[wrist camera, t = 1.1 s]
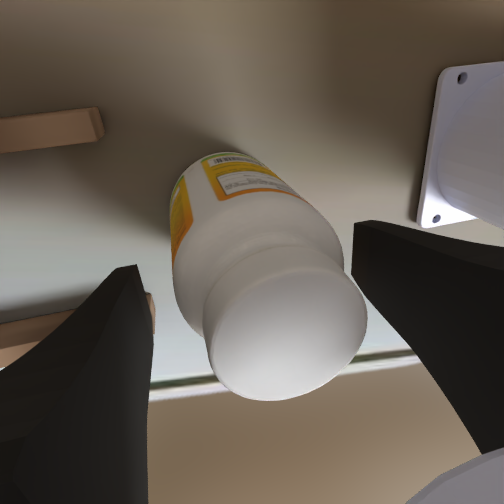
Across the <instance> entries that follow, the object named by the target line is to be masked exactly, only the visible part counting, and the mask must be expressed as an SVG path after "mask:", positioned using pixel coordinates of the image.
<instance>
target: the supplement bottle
mask: <svg viewBox="0 0 504 504" xmlns="http://www.w3.org/2000/svg"><path fill="white" fill-rule="evenodd" d="M170 229H171V252H172V274H173V285H174V292H175V297H176V301H177V304H178V307H179V309H180V311H181V313H182V315H183V317H184V319H185V320H186V321H187V323H188V324H189V325H190V326H191V328H192V329H193V330H194V331H196V332H197V333H198V334H199V335H200V336H202V337H203V338H204V339H205V342H206V347H207V352H208V358H209V362H210V365H211V368H212V370H213V372H214V374H215V375H216V377H217V378H218V379H219V381H220V382H221V383H222V384H223V385H224V386H225V387H226V388H228V389H229V390H231V391H232V392H234V393H236V394H238V395H240V396H242V397H245V398H249V399H254V400H263V401H275V400H284V399H289V398H292V397H296V396H300V395H302V394H305V393H308V392H310V391H312V390H315V389H317V388H319V387H320V386H322V385H324V384H325V383H327V382H328V381H330V380H331V379H333V378H334V377H335V376H336V375H338V374H339V373H340V372H341V371H342V370H343V369H344V368H345V367H346V366H347V365H348V364H349V363H350V361H351V360H352V359H353V357H354V356H355V354H356V353H357V351H358V350H359V348H360V346H361V344H362V342H363V339H364V336H365V333H366V328H367V319H368V317H367V308H366V304H365V301H364V299H363V296H362V294H361V293H360V291H359V290H358V288H357V287H356V286H355V284H354V283H353V282H352V281H351V280H350V278H349V277H348V276H347V275H346V274H345V273H344V257H343V252H342V247H341V244H340V241H339V239H338V237H337V235H336V233H335V231H334V229H333V228H332V226H331V225H330V223H329V222H328V221H327V220H326V219H325V218H324V217H323V216H322V215H321V214H320V213H319V212H318V211H317V210H316V209H315V208H314V207H313V206H312V205H310V204H309V203H308V202H307V201H306V200H304V199H303V198H302V197H301V196H300V195H299V194H297V193H296V192H295V191H294V190H293V189H292V188H291V187H289V186H288V185H287V184H286V183H285V182H284V181H282V180H281V179H280V178H279V177H278V176H277V175H276V174H274V173H273V172H272V171H271V170H270V169H269V168H267V167H266V166H265V165H264V164H262V163H261V162H259V161H257V160H256V159H254V158H252V157H250V156H247V155H244V154H241V153H235V152H221V153H215V154H211V155H208V156H205V157H203V158H201V159H199V160H198V161H196V162H195V163H193V164H192V165H190V166H189V167H188V168H187V169H186V170H185V171H184V172H183V174H182V175H181V176H180V178H179V179H178V181H177V183H176V185H175V187H174V189H173V192H172V195H171V200H170Z"/></svg>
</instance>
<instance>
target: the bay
mask: <svg viewBox="0 0 504 504" xmlns="http://www.w3.org/2000/svg"><path fill="white" fill-rule="evenodd" d="M104 134H105V130H104V127H103V123H102V120H101V116H100V113H99V109H98V107H89V108H81V109H72V110H63V111H54V112H45V113H36V114H28V115H19V116H10V117H1V118H0V154H1V153H9V152H16V151H24V150H32V149H40V148H47V147H55V146H63V145H71V144H79V143H86V142H94V141H98V140H99V139H100V138H101V137H102V136H103V135H104ZM146 298H147V301H148V304H149V308H150V311H151V315H152V321H153V334H155V306H154V302H153V299H152V295H151V294H148V295H146ZM75 310H76V309H74V310H69V311H64V312H59V313H54V314H49V315H44V316H39V317H34V318H29V319H24V320H19V321H14V322H9V323H4V324H0V368H2V367H6V366H8V365H10V364H11V363H13V362H14V361H15V360H17V359H18V358H20V357H21V356H23V355H24V354H25V353H27V352H28V351H29V350H30V349H32V348H33V347H34V346H35V345H37V344H38V343H39V342H41V341H42V340H43V339H44V338H46V337H47V336H48V335H49V334H50V333H51V332H53V331H54V330H55V329H56V328H57V327H58V326H59V325H61V324H62V323H63V322H64V321H65V320H66V319H67V318H68V317H69V316H70V315H71V314H72V313H73V312H74V311H75Z"/></svg>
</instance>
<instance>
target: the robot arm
mask: <svg viewBox="0 0 504 504" xmlns="http://www.w3.org/2000/svg"><path fill="white" fill-rule="evenodd" d="M459 74H461V79H460V81H459V82H457V78H458V76H459ZM435 215H436V217H435V218H434V219H433V217H434V216H435ZM477 218H479V219H481V220H483V221H485V222H488V223H490V224H492V225H494V226H497V227H499V228H501V229H503V230H504V61H499V62H490V63H482V64H473V65H464V66H455V67H448V68H446V69H444V70H443V71H442V72H441V74H440V75H439V78H438V83H437V89H436V96H435V103H434V109H433V116H432V122H431V129H430V135H429V142H428V148H427V155H426V161H425V168H424V174H423V181H422V187H421V194H420V200H419V207H418V213H417V224H418V225H419V226H420V227H422V228H431V227H436V226H441V225H446V224H451V223H456V222H461V221H467V220H472V219H477ZM432 219H433V220H432ZM351 275H352V277H353V278H354V280H355V281H356V283H357V285H358V286H359V288H360V289H361V291H362V292H363V294H364V295H365V296H366V298H367V299H368V300H369V301H370V302H371V303H372V305H373V306H374V307H375V308H376V309H377V310H378V311H379V313H380V314H381V315H382V316H383V317H384V318H385V319H386V320H387V321H388V322H389V324H390V325H391V326H392V327H393V328H394V329H395V330H396V331H397V332H398V334H399V335H400V336H401V337H402V338H403V339H404V340H405V341H406V342H407V344H408V345H409V346H410V347H411V348H412V350H413V351H414V352H415V353H416V355H417V356H418V357H419V359H420V360H421V362H422V363H423V364H424V366H425V367H426V368H427V370H428V371H429V373H430V374H431V375H432V377H433V378H434V380H435V381H436V382H437V384H438V386H439V387H440V388H441V390H442V391H443V393H444V394H445V396H446V397H447V399H448V400H449V402H450V403H451V405H452V406H453V408H454V409H455V411H456V412H457V414H458V416H459V417H460V419H461V421H462V422H463V424H464V426H465V427H466V428H467V430H468V432H469V433H470V435H471V437H472V438H473V440H474V442H475V443H476V445H477V447H478V449H479V450H480V452H481V454H482V455H480V456H478V457H476V458H474V459H472V460H470V461H468V462H466V463H464V464H462V465H459V466H457V467H455V468H453V469H451V470H449V471H447V472H445V473H443V474H441V475H439V476H438V477H437V478H435V479H434V480H433V481H432V482H431V483H429V484H428V485H427V486H426V487H424V488H423V489H422V490H421V491H419V492H418V493H417V494H416V495H415V496H413V497H412V498H411V499H410V500H408V501H407V502H406V504H504V247H499V246H493V245H486V244H480V243H474V242H469V241H464V240H459V239H454V238H450V237H445V236H441V235H437V234H432V233H428V232H424V231H420V230H416V229H412V228H408V227H404V226H400V225H396V224H392V223H387V222H382V221H376V220H368V221H363V222H357V223H354V233H353V250H352V268H351ZM153 345H154V343H153V321H152V315H151V311H150V308H149V304H148V301H147V298H146V294H145V291H144V287H143V284H142V281H141V277H140V274H139V270H138V267H137V264H135V265H130V266H125V267H120V268H116V269H115V270H114V271H112V272H111V274H110V275H109V276H108V277H107V278H106V279H105V280H104V281H103V282H102V283H101V284H100V285H99V287H98V288H97V289H96V290H95V291H94V292H93V293H92V294H91V295H90V296H89V297H88V298H87V299H86V300H85V301H84V302H83V303H82V304H81V305H80V306H79V307H78V308H77V309H76V310H75V311H74V312H73V313H72V314H71V315H70V316H69V317H68V318H67V319H66V320H65V321H64V322H63V323H62V324H61V325H59V326H58V327H57V328H56V329H55V330H54V331H53V332H51V333H50V334H49V335H48V336H47V337H46V338H44V339H43V340H42V341H41V342H39V343H38V344H37V345H35V346H34V347H33V348H32V349H30V350H29V351H28V352H27V353H25V354H24V355H23V356H21V357H20V358H18V359H17V360H15V361H14V362H13V363H11V364H10V365H8V366H7V367H5V368H4V369H2V370H1V371H0V504H148V476H147V475H148V473H147V410H148V399H149V389H150V379H151V368H152V357H153Z"/></svg>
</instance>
